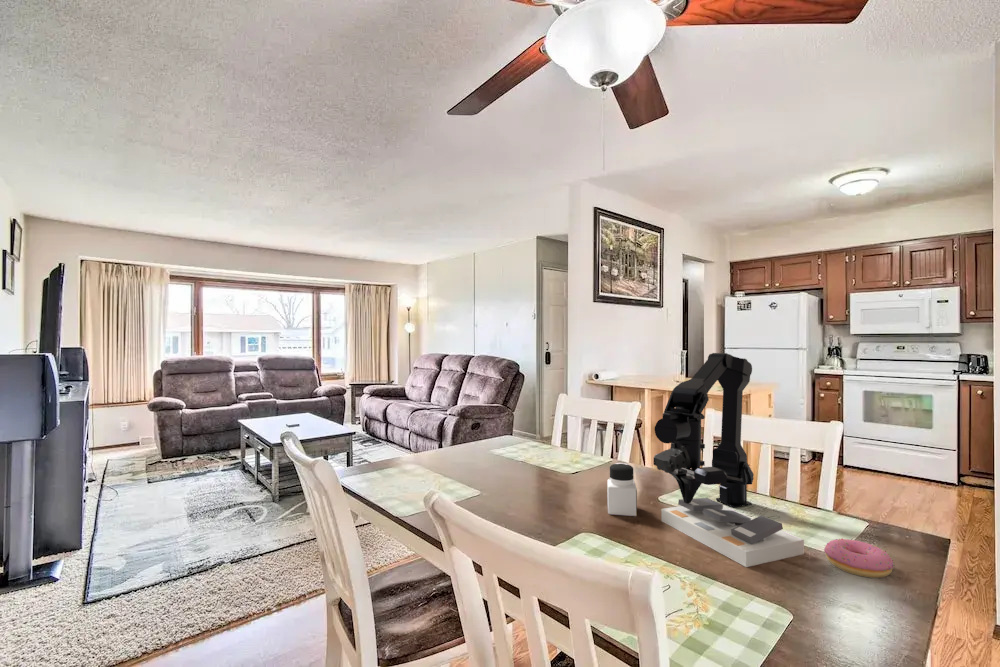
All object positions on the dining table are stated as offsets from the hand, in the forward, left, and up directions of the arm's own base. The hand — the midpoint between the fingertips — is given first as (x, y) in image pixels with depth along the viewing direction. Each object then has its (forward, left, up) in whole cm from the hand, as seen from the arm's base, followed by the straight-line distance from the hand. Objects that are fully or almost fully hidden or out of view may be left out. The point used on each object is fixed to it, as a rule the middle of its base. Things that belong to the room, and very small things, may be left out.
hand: (687, 503), depth 113 cm
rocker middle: (-4, +8, -1) cm, 9 cm away
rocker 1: (-4, 0, -1) cm, 4 cm away
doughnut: (-17, +28, -6) cm, 33 cm away
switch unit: (-4, +8, -5) cm, 10 cm away
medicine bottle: (+9, -14, -6) cm, 18 cm away
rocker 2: (-4, +16, -1) cm, 17 cm away
